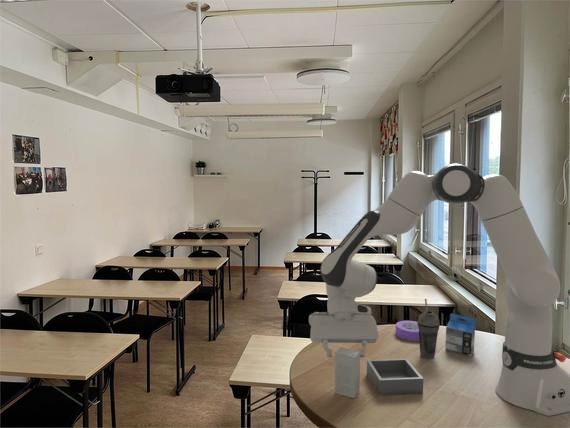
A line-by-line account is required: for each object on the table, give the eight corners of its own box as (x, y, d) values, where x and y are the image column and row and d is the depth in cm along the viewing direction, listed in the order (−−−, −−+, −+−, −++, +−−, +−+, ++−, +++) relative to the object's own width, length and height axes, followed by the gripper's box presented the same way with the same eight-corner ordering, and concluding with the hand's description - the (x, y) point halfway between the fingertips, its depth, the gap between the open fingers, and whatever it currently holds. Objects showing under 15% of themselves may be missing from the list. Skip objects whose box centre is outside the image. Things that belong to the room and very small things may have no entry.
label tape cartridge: (444, 349, 144) (445, 315, 143) (448, 346, 147) (449, 313, 146) (470, 356, 138) (472, 321, 137) (474, 353, 141) (475, 318, 140)
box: (406, 372, 127) (406, 358, 127) (423, 393, 115) (423, 378, 114) (366, 374, 126) (367, 360, 126) (379, 395, 114) (379, 380, 113)
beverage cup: (440, 361, 134) (442, 303, 133) (417, 359, 136) (419, 301, 134) (436, 352, 142) (438, 296, 140) (415, 350, 143) (416, 295, 141)
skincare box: (360, 392, 115) (360, 351, 114) (354, 399, 112) (354, 357, 111) (340, 386, 119) (341, 347, 117) (334, 393, 115) (334, 352, 114)
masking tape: (433, 337, 156) (434, 327, 155) (412, 343, 150) (412, 333, 149) (410, 327, 166) (410, 318, 165) (389, 333, 160) (389, 323, 160)
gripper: (309, 307, 124) (310, 352, 115) (376, 307, 124) (382, 352, 115) (308, 316, 128) (309, 360, 120) (372, 317, 128) (378, 360, 120)
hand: (345, 356), depth 117 cm, fingers open, 8 cm apart
